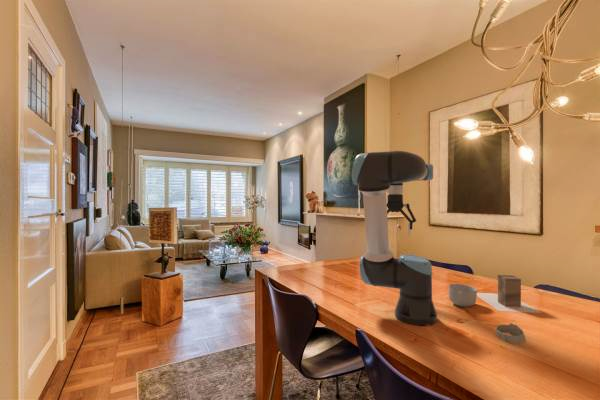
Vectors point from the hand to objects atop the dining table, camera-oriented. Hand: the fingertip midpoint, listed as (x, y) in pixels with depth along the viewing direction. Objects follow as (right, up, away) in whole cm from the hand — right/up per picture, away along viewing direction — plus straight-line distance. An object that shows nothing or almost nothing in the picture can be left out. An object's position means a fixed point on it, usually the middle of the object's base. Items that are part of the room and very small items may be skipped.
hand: (395, 235), depth 155 cm
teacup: (+21, -27, -25) cm, 43 cm away
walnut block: (+41, -27, -26) cm, 55 cm away
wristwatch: (+20, -28, -56) cm, 66 cm away
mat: (+41, -27, -22) cm, 54 cm away
